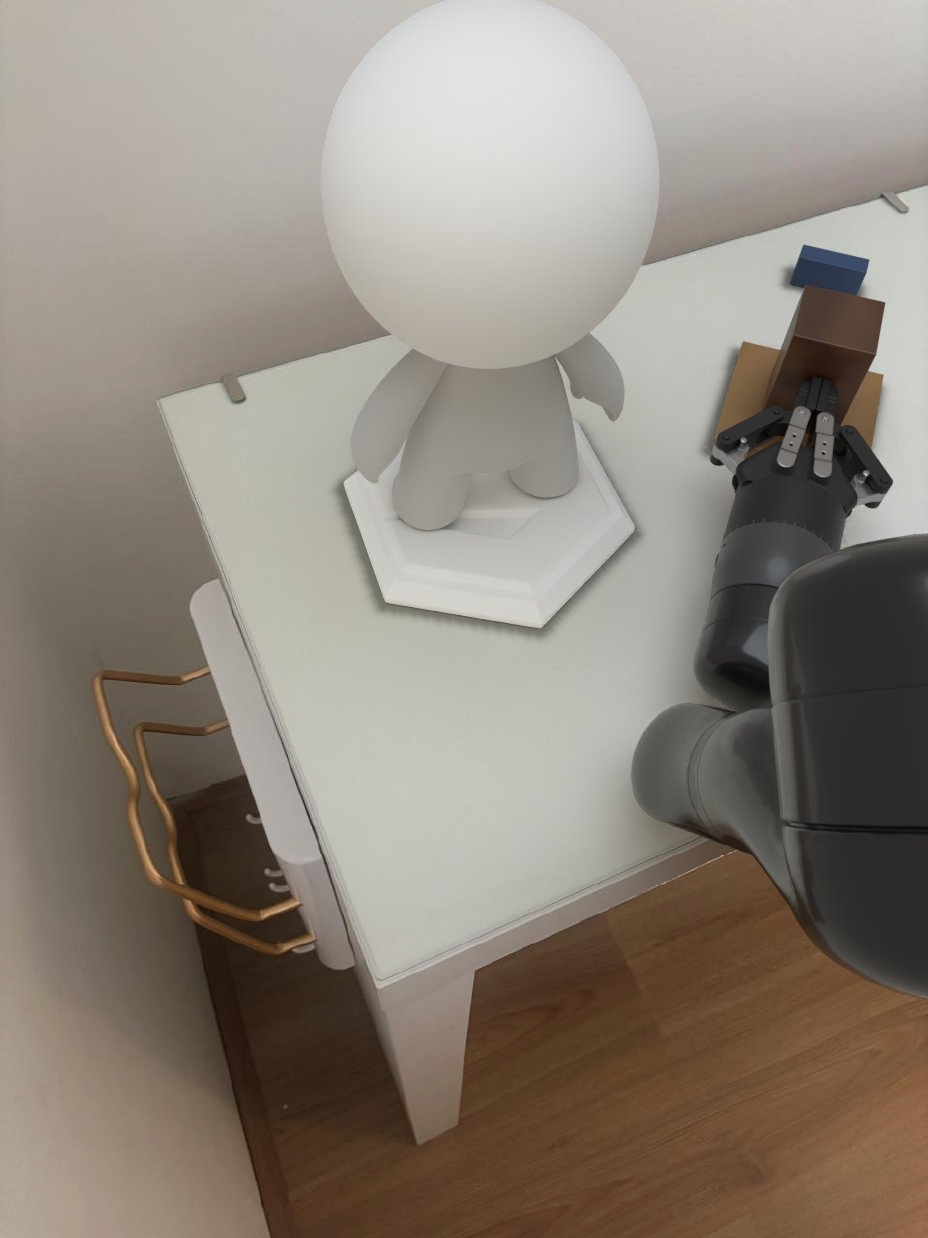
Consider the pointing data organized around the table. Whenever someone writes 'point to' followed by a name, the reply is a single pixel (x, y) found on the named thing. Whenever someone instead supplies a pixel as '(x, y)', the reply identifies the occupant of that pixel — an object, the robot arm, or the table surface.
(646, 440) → the table surface
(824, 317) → the block
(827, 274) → the blue rectangular block
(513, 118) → the big headed doll
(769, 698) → the robot arm
